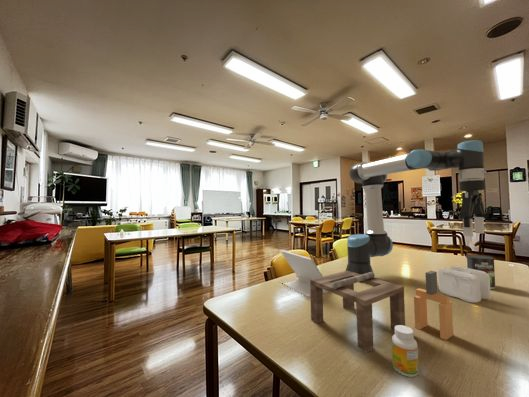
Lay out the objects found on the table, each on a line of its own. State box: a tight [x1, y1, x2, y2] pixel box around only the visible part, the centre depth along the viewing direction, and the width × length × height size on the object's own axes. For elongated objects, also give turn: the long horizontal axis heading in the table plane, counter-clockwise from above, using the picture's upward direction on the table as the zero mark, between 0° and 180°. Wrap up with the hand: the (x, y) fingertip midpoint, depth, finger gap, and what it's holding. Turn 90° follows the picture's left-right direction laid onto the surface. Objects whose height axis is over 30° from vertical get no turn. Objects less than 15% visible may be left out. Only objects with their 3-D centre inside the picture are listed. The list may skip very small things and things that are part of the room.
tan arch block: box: [413, 270, 454, 341], centre depth 73 cm, size 8×5×18 cm, turn 32°
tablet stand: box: [280, 249, 330, 298], centre depth 116 cm, size 18×25×17 cm
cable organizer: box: [437, 265, 492, 304], centre depth 98 cm, size 15×11×12 cm
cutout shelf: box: [310, 270, 406, 353], centre depth 77 cm, size 22×20×16 cm
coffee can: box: [465, 253, 497, 290], centre depth 112 cm, size 10×10×14 cm
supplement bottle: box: [391, 325, 419, 378], centre depth 56 cm, size 5×5×10 cm
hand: (474, 234), depth 89 cm, fingers open, 13 cm apart
